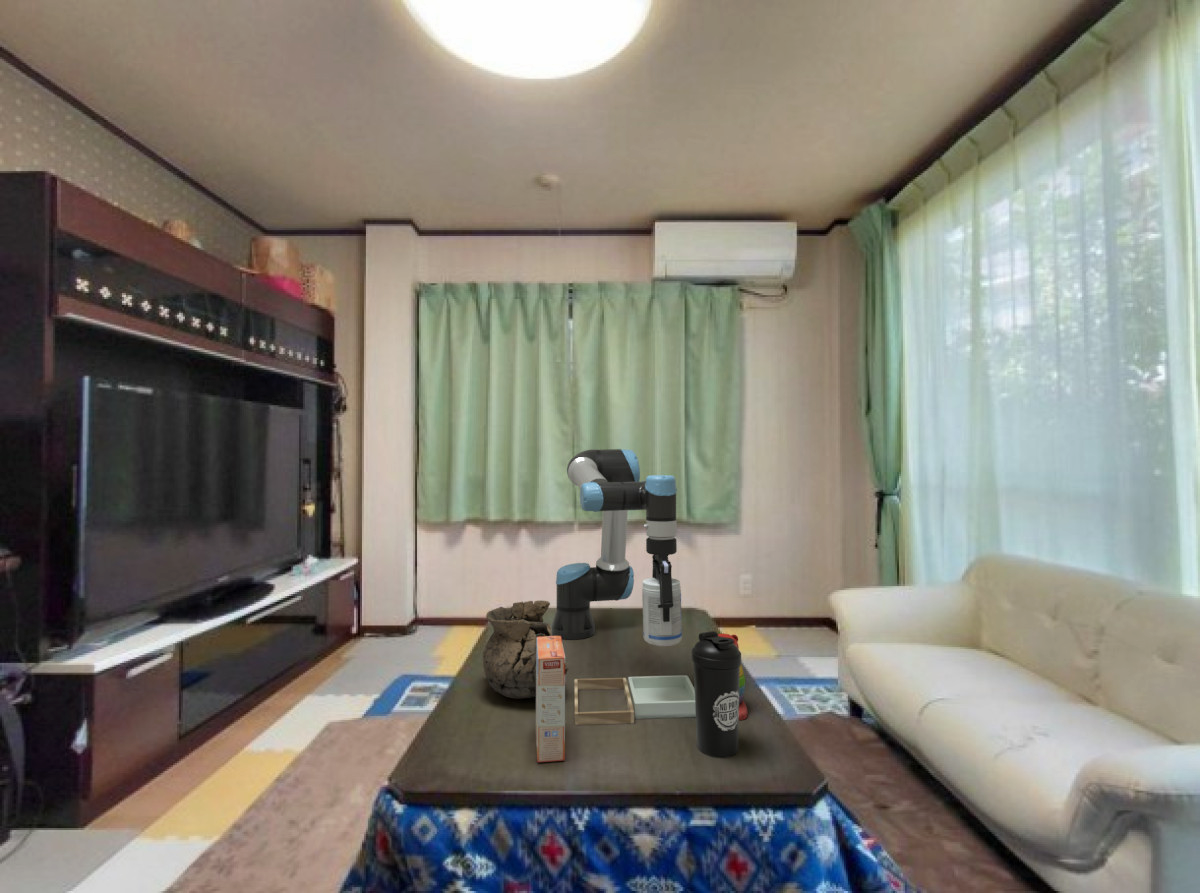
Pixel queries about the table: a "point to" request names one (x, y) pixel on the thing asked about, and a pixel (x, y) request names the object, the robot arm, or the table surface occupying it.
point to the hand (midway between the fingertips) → (662, 627)
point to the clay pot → (515, 648)
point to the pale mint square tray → (662, 696)
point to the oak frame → (603, 716)
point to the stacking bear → (741, 682)
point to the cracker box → (550, 699)
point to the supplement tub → (653, 613)
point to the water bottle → (716, 694)
